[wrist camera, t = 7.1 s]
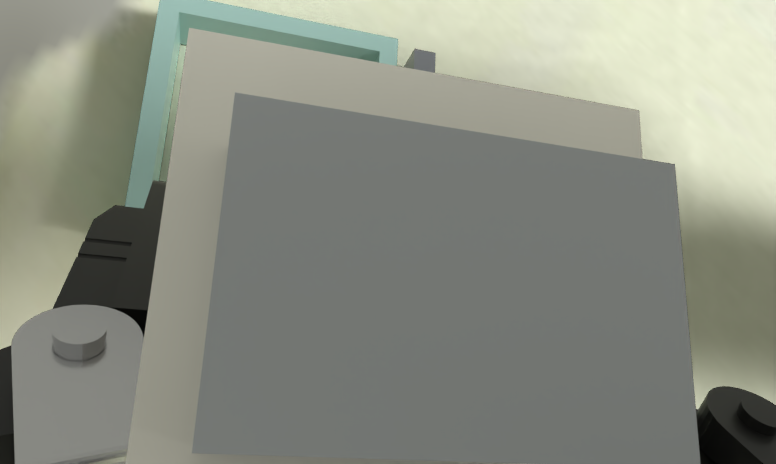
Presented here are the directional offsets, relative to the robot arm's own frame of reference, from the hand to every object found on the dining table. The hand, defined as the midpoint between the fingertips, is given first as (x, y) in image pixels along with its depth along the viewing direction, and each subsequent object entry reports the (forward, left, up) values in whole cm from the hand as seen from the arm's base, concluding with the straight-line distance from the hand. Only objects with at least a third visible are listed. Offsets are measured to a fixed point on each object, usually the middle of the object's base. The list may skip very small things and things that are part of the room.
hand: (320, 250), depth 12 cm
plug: (+1, +1, -5) cm, 6 cm away
